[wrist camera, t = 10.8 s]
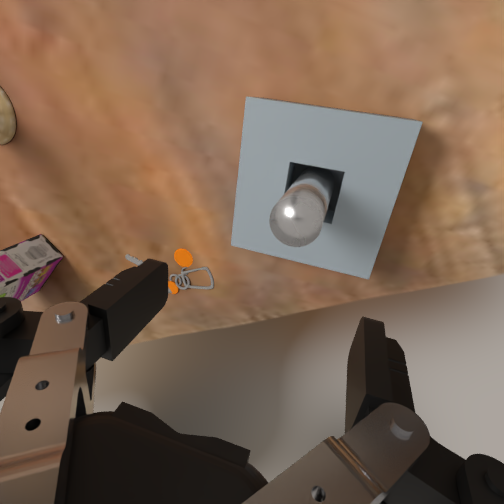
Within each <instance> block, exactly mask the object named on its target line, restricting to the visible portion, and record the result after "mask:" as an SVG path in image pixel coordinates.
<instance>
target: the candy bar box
mask: <svg viewBox="0 0 504 504" xmlns="http://www.w3.org/2000/svg"><path fill="white" fill-rule="evenodd" d="M62 258H63V255H62V254H61V253H60V252H59V251H58V250H57V249H56V248H55V247H54V246H53V245H52V244H51V243H50V242H49V241H48V240H47V239H46V238H45V237H44V236H43V235H41V234H40V235H37V236H35V237H33V238H30V239H28V240H25V241H23V242H20V243H18V244H15V245H13V246H10V247H8V248H6V249H3V250H0V297H13V298H16V299H18V300H20V301H23V300H24V299H26V298H28V297H29V296H31V295H33V294H35V293H36V292H38V291H39V290H40V289H41V287H42V286H43V284H44V283H45V281H46V280H47V279H48V277H49V276H50V274H51V273H52V272H53V270H54V269H55V267H56V266H57V265H58V263H59V262H60V260H61V259H62Z"/></svg>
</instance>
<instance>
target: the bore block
mask: <svg viewBox="0 0 504 504" xmlns="http://www.w3.org/2000/svg"><path fill="white" fill-rule="evenodd" d="M421 125H422V122H421V121H417V120H414V119H408V118H401V117H394V116H387V115H380V114H373V113H366V112H359V111H352V110H345V109H338V108H331V107H324V106H317V105H310V104H303V103H296V102H289V101H282V100H275V99H268V98H259V97H246V102H245V112H244V122H243V132H242V142H241V151H240V161H239V171H238V181H237V190H236V200H235V210H234V220H233V230H232V239H231V245H232V246H236V247H240V248H244V249H248V250H252V251H256V252H260V253H264V254H268V255H272V256H276V257H280V258H284V259H288V260H292V261H296V262H300V263H304V264H309V265H313V266H317V267H321V268H325V269H329V270H333V271H337V272H341V273H345V274H349V275H353V276H357V277H361V278H365V279H369V277H370V274H371V271H372V269H373V266H374V263H375V260H376V257H377V254H378V251H379V248H380V245H381V242H382V239H383V236H384V233H385V231H386V228H387V225H388V222H389V219H390V216H391V213H392V210H393V207H394V204H395V201H396V198H397V195H398V193H399V190H400V187H401V184H402V181H403V178H404V175H405V172H406V169H407V166H408V163H409V160H410V157H411V155H412V152H413V149H414V146H415V143H416V140H417V137H418V134H419V131H420V128H421ZM312 166H316V167H321V168H326V169H327V170H329V171H330V173H331V174H332V176H333V178H334V189H333V192H332V195H331V199H330V202H329V205H328V209H327V212H326V215H325V219H324V222H323V225H322V229H321V232H320V234H319V236H318V237H317V238H316V239H315V240H314V241H313V242H312V243H310V244H308V245H306V246H302V247H291V246H288V245H285V244H283V243H282V242H280V241H279V240H278V239H277V238H276V237H275V236H274V234H273V233H272V231H271V228H270V224H269V218H270V213H271V211H272V209H273V207H274V206H275V205H276V203H277V202H278V201H279V200H280V199H281V197H282V196H283V195H284V194H285V193H286V191H287V190H288V189H289V188H290V187H291V185H292V184H293V183H294V182H295V181H296V179H297V178H298V177H299V176H300V175H301V173H302V172H303V171H304V170H306V169H307V168H309V167H312Z"/></svg>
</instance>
